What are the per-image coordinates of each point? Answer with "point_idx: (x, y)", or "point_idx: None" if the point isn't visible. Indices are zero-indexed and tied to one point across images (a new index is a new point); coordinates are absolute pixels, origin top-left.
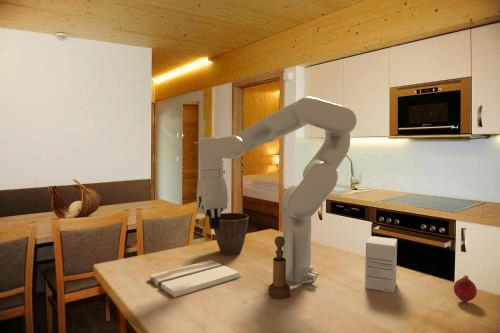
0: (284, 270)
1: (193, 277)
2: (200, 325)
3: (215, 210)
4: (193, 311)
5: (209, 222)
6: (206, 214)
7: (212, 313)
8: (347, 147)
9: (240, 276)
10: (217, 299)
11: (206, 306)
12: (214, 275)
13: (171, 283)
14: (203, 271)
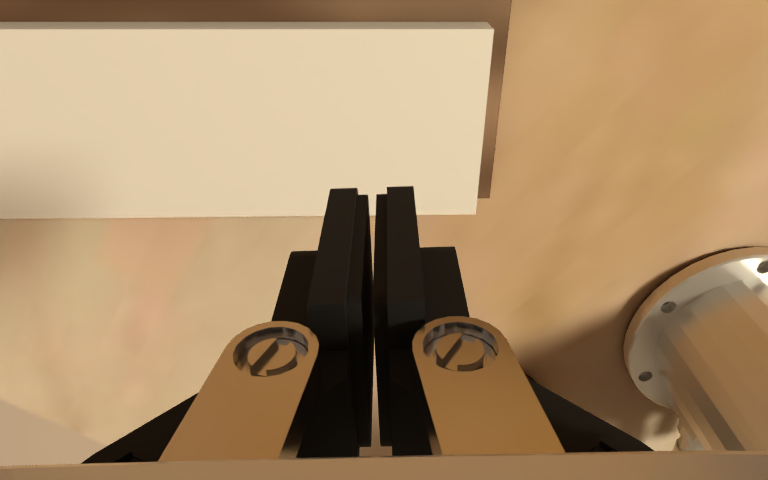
0: None
1: (159, 94)
2: (69, 413)
3: (491, 452)
4: (75, 323)
5: (283, 290)
6: (156, 439)
7: (148, 374)
8: None
9: (486, 190)
10: (228, 294)
11: (148, 318)
12: (309, 156)
13: None
14: (280, 33)
